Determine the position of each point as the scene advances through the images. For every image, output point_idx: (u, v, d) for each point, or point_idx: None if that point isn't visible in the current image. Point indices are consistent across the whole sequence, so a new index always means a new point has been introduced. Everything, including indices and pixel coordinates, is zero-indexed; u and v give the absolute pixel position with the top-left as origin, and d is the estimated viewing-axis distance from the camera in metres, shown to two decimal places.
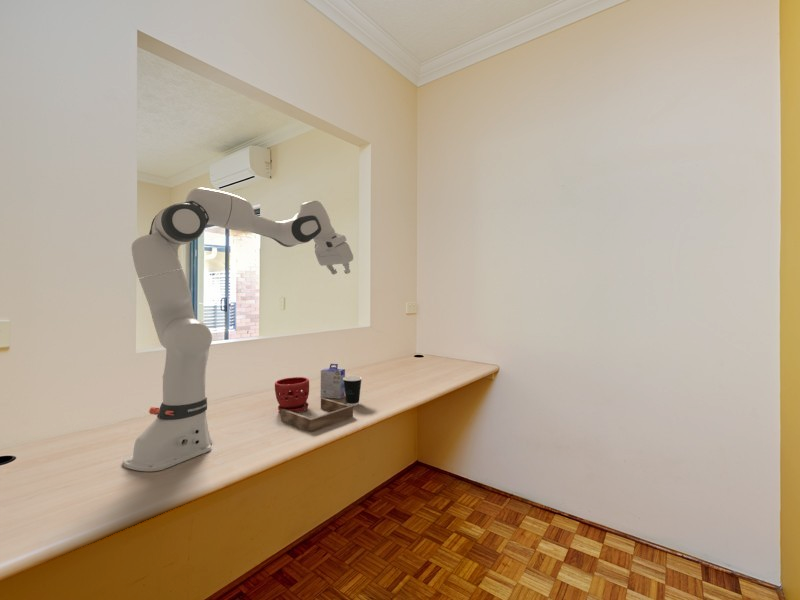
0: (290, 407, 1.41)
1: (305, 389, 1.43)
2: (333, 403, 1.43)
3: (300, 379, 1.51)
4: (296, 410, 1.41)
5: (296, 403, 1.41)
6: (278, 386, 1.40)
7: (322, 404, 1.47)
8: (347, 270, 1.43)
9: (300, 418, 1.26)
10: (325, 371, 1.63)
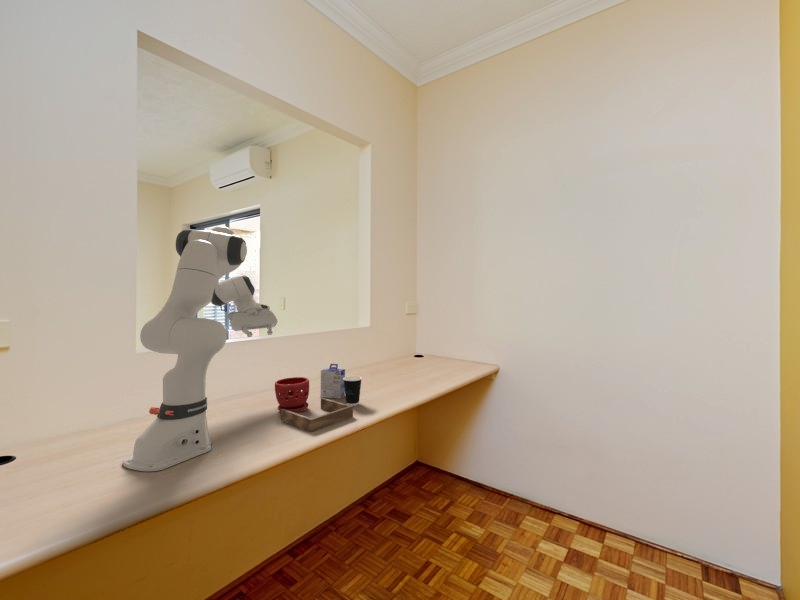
0: (290, 407, 1.41)
1: (305, 389, 1.43)
2: (333, 403, 1.43)
3: (300, 379, 1.51)
4: (296, 410, 1.41)
5: (296, 403, 1.41)
6: (278, 386, 1.40)
7: (322, 404, 1.47)
8: None
9: (300, 418, 1.26)
10: (325, 371, 1.63)
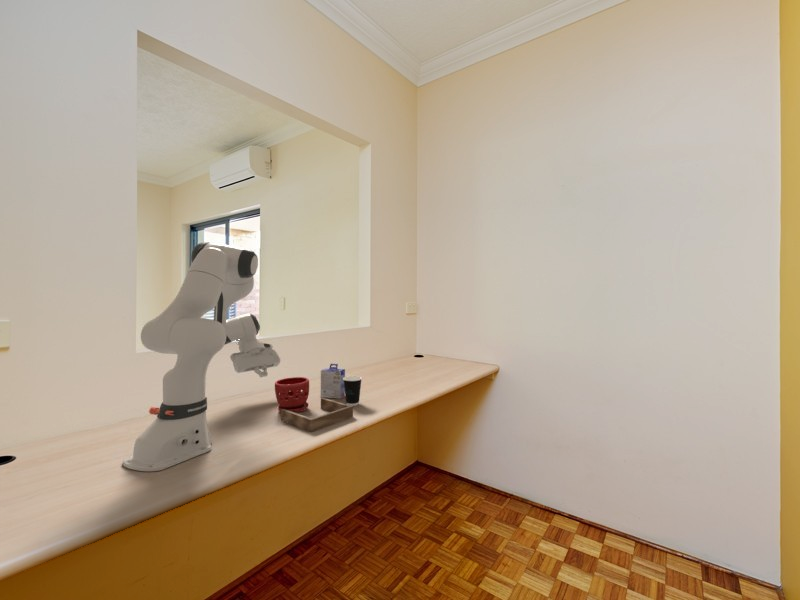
0: (290, 407, 1.41)
1: (305, 389, 1.43)
2: (333, 403, 1.43)
3: (300, 379, 1.51)
4: (296, 410, 1.41)
5: (296, 403, 1.41)
6: (278, 386, 1.40)
7: (322, 404, 1.47)
8: None
9: (300, 418, 1.26)
10: (325, 371, 1.63)
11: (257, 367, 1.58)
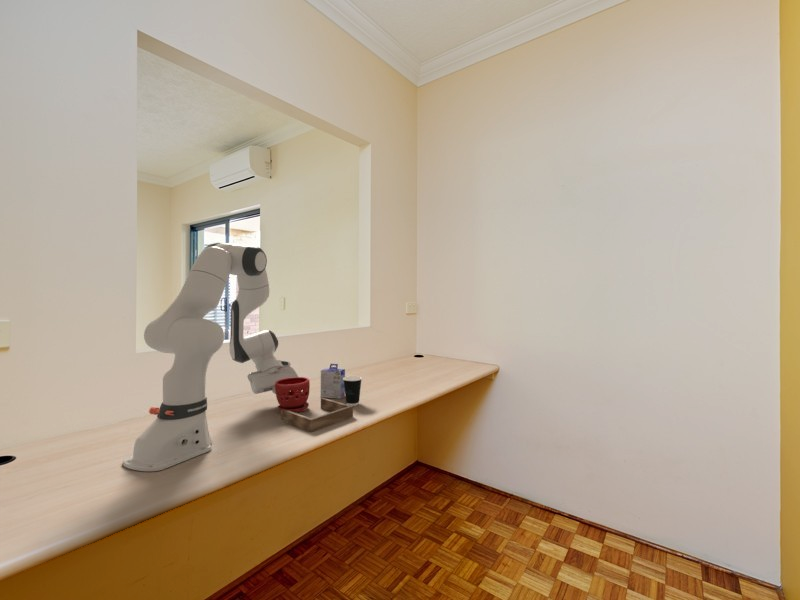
0: (290, 407, 1.41)
1: (305, 389, 1.43)
2: (333, 403, 1.43)
3: (300, 379, 1.51)
4: (296, 410, 1.41)
5: (296, 403, 1.41)
6: (278, 386, 1.40)
7: (322, 404, 1.47)
8: None
9: (300, 418, 1.26)
10: (325, 371, 1.63)
11: None
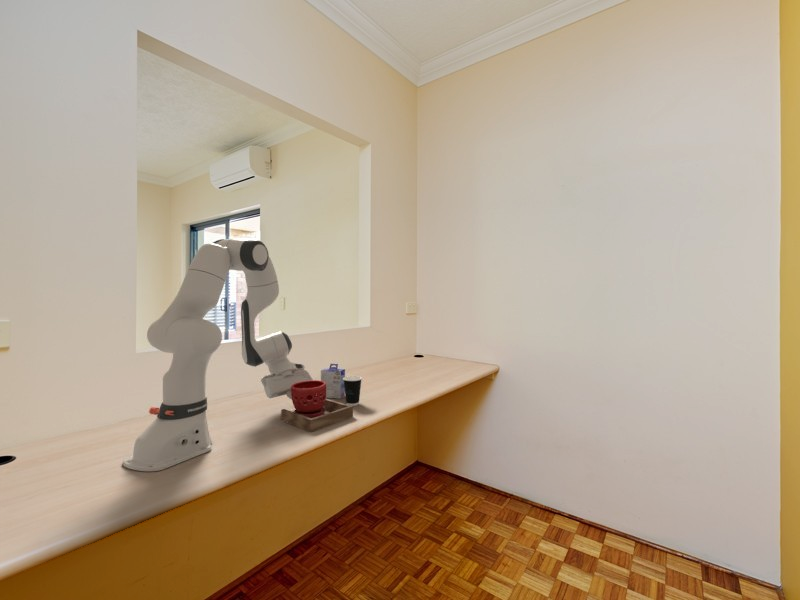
0: (308, 412, 1.35)
1: (323, 393, 1.38)
2: (333, 403, 1.43)
3: (315, 382, 1.45)
4: (315, 415, 1.35)
5: (315, 407, 1.35)
6: (296, 390, 1.34)
7: None
8: None
9: (300, 418, 1.26)
10: (325, 371, 1.63)
11: (290, 391, 1.43)
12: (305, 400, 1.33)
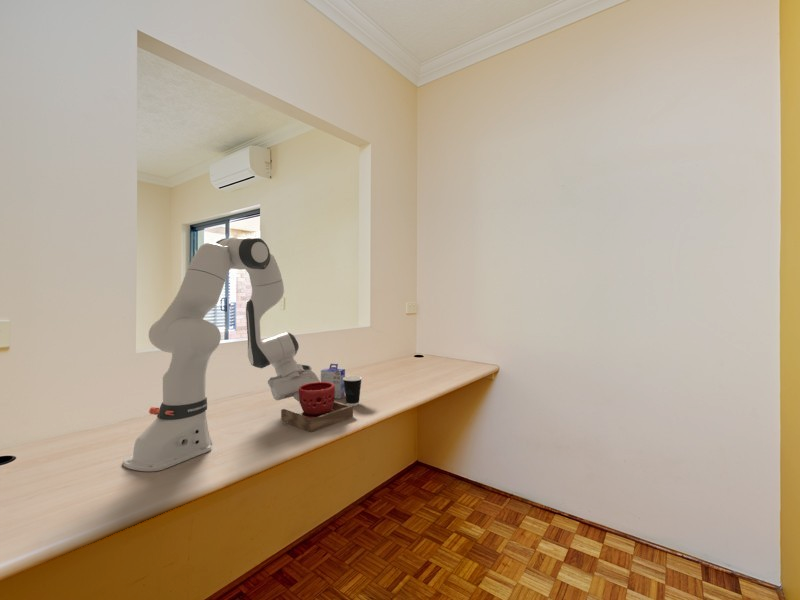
0: (317, 414, 1.33)
1: (332, 395, 1.35)
2: None
3: (323, 384, 1.43)
4: None
5: (324, 410, 1.33)
6: (305, 392, 1.31)
7: None
8: None
9: (300, 418, 1.26)
10: (325, 371, 1.63)
11: (297, 393, 1.41)
12: (314, 402, 1.31)
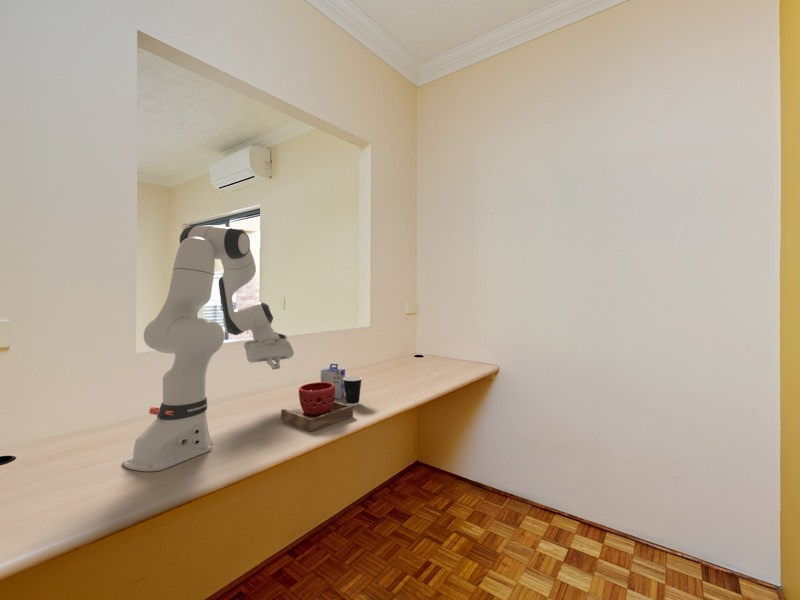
0: (317, 414, 1.33)
1: (332, 395, 1.35)
2: None
3: (323, 384, 1.43)
4: None
5: (324, 410, 1.33)
6: (305, 392, 1.31)
7: None
8: None
9: (300, 418, 1.26)
10: (325, 371, 1.63)
11: (270, 358, 1.51)
12: (314, 402, 1.31)
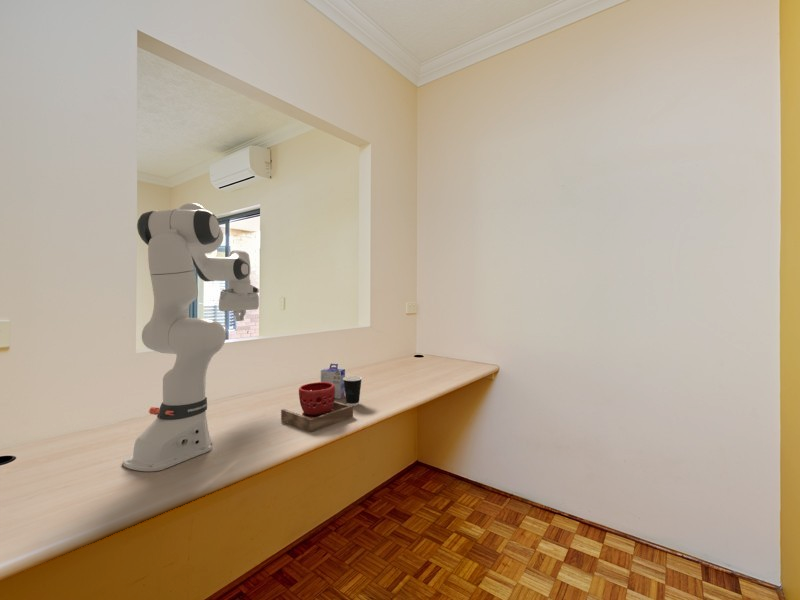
0: (317, 414, 1.33)
1: (332, 395, 1.35)
2: None
3: (323, 384, 1.43)
4: None
5: (324, 410, 1.33)
6: (305, 392, 1.31)
7: None
8: None
9: (300, 418, 1.26)
10: (325, 371, 1.63)
11: (238, 311, 1.57)
12: (314, 402, 1.31)
